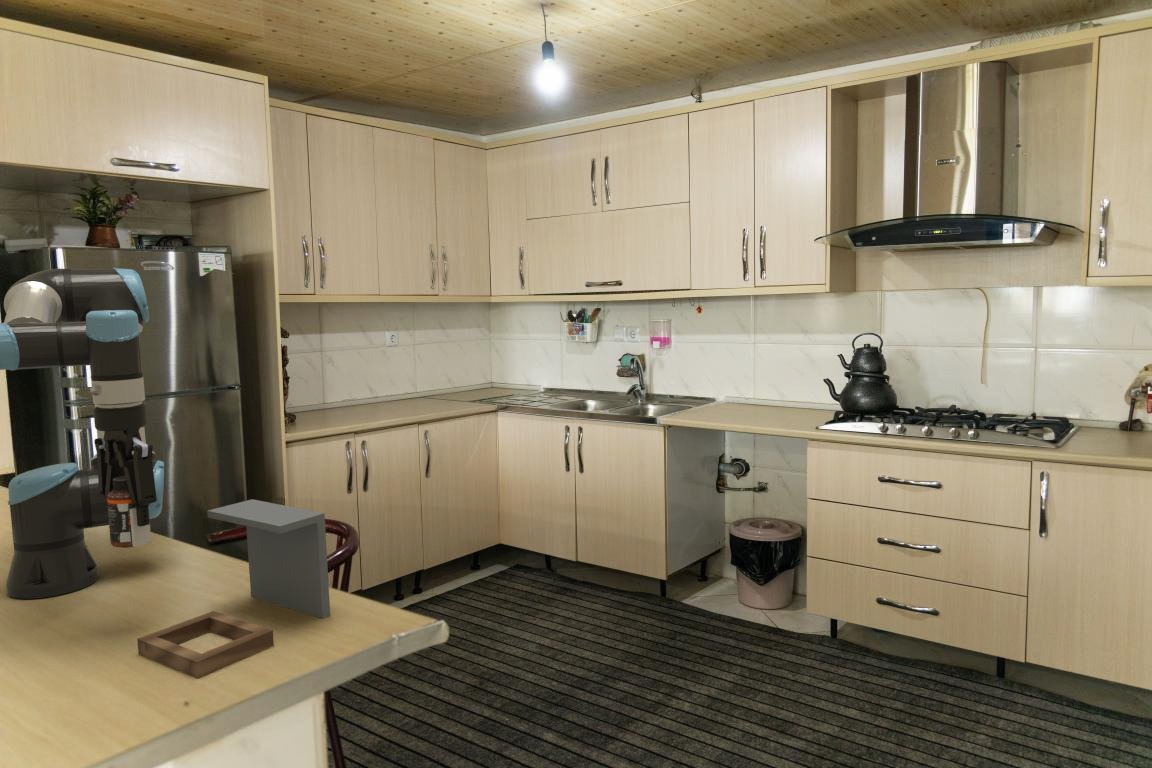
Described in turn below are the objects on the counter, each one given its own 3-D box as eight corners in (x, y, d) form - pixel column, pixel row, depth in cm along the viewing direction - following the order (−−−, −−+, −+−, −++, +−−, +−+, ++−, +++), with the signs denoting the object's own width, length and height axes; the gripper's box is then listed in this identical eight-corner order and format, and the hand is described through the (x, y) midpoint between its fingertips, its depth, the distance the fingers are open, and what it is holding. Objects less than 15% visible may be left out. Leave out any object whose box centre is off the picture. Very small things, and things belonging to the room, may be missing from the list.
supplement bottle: (133, 550, 134) (128, 482, 132) (102, 548, 135) (96, 481, 134) (159, 538, 140) (154, 473, 138) (128, 537, 141) (123, 472, 139)
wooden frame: (138, 653, 129) (137, 638, 128) (214, 625, 139) (213, 610, 139) (198, 678, 120) (196, 661, 120) (273, 645, 131) (272, 630, 130)
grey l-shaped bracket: (214, 610, 146) (207, 510, 144) (258, 594, 153) (252, 499, 151) (286, 633, 135) (280, 526, 133) (330, 615, 143) (324, 513, 140)
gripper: (66, 403, 136) (79, 538, 139) (127, 411, 126) (139, 557, 129) (112, 397, 143) (123, 526, 145) (174, 405, 132) (184, 544, 135)
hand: (131, 540), depth 137 cm, fingers closed on supplement bottle, 6 cm apart
